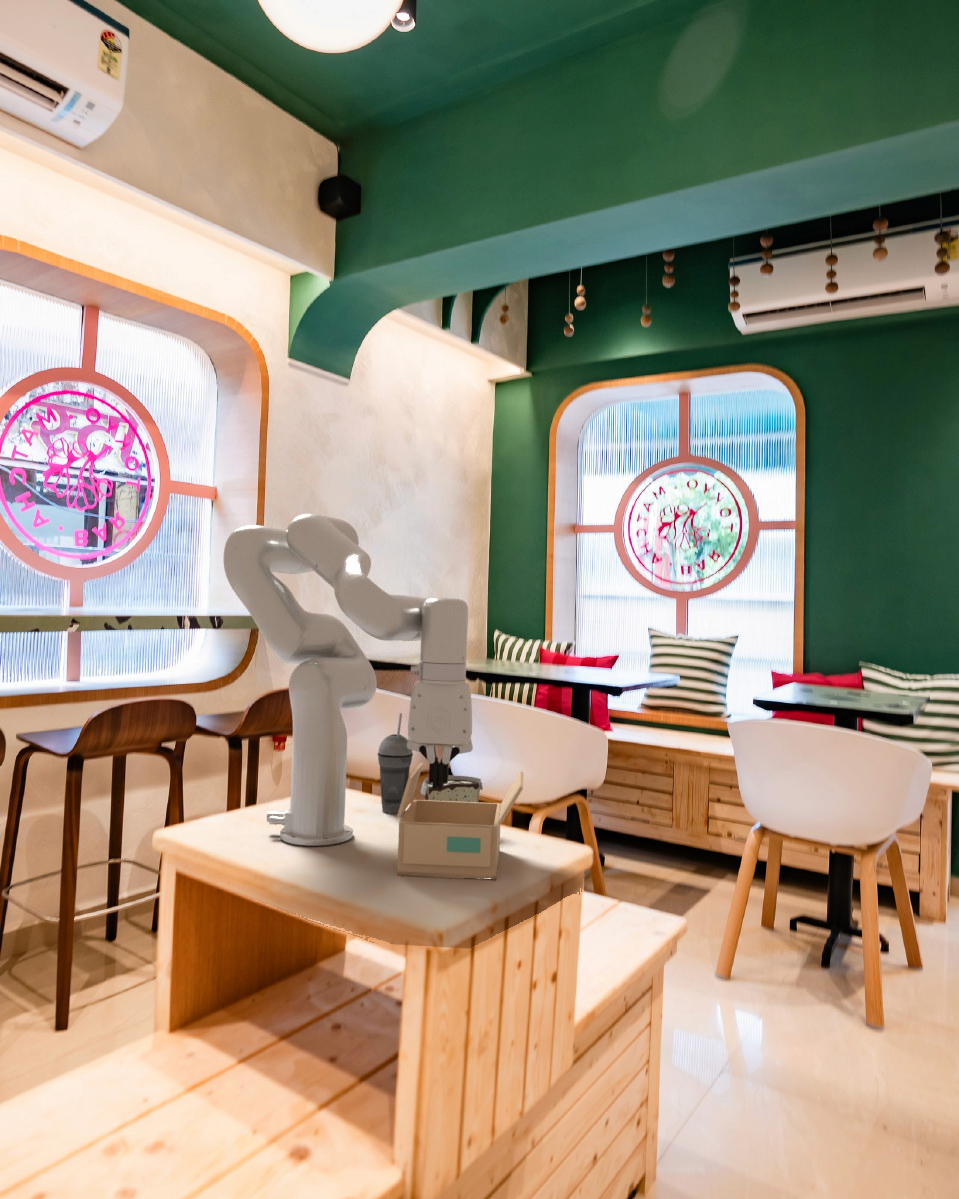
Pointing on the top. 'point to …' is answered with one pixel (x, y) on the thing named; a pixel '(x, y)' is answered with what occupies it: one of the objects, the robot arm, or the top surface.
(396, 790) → the beverage cup
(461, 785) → the food container
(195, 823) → the top surface
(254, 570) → the robot arm
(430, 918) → the top surface
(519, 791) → the right flap
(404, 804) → the left flap
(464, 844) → the carton
